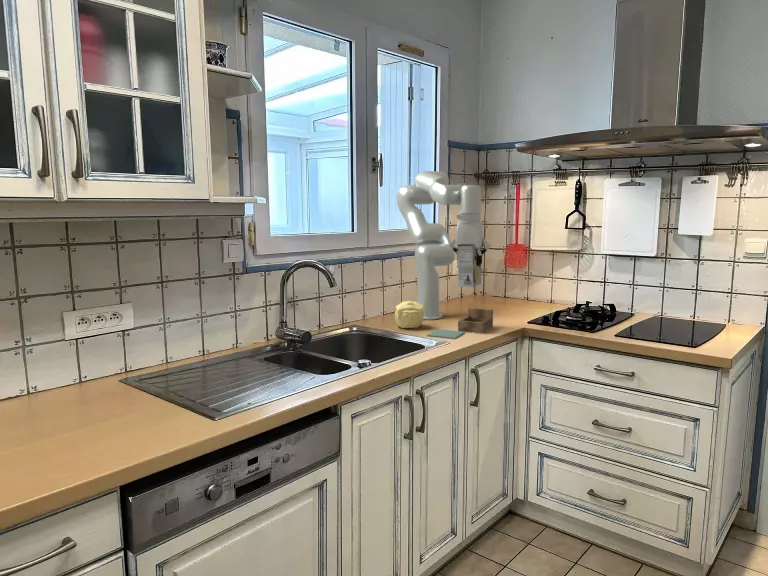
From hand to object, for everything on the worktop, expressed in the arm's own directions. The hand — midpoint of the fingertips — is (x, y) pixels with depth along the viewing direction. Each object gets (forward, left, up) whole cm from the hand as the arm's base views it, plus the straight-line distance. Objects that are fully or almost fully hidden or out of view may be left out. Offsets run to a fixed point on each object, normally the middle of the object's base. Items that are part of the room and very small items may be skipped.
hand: (469, 264), depth 214 cm
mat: (-5, -11, -26) cm, 28 cm away
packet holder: (+2, +3, -26) cm, 26 cm away
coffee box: (0, 0, -8) cm, 8 cm away
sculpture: (-23, -5, -26) cm, 35 cm away
